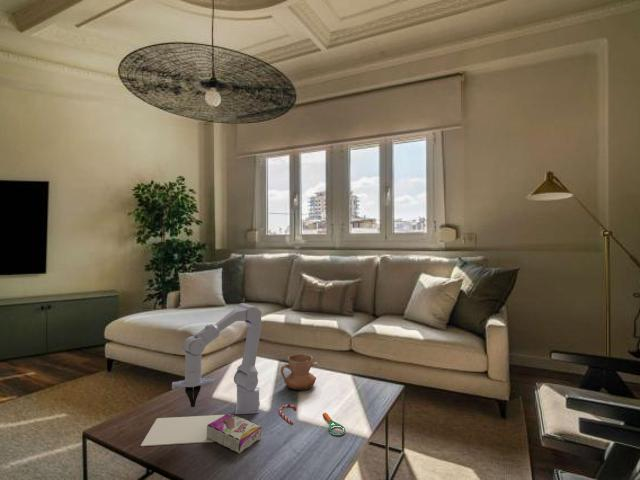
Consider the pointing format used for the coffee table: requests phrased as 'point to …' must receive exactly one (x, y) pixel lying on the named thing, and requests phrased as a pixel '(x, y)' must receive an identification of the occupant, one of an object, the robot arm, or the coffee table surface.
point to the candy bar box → (234, 432)
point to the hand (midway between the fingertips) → (193, 405)
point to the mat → (179, 430)
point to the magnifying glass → (332, 422)
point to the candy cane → (284, 415)
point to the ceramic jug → (299, 372)
